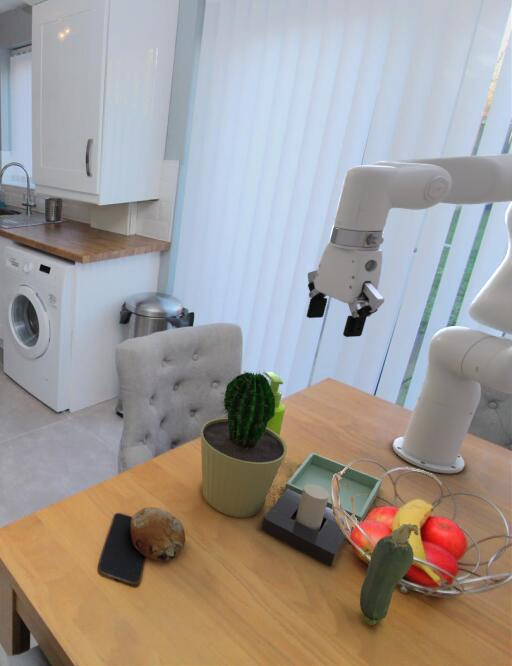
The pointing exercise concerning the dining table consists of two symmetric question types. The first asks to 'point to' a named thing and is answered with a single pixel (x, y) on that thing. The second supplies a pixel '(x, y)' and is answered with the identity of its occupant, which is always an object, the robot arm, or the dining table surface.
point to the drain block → (304, 529)
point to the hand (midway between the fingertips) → (332, 326)
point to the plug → (312, 506)
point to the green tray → (358, 482)
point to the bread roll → (157, 534)
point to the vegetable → (386, 572)
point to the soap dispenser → (280, 407)
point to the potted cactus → (241, 448)
